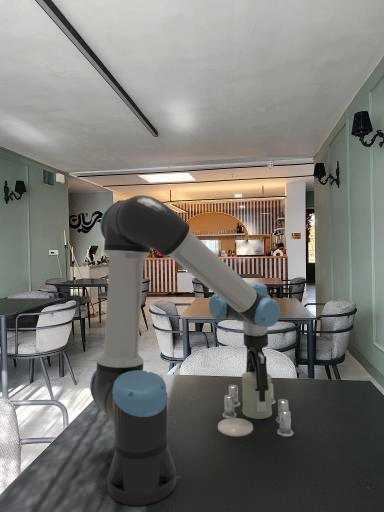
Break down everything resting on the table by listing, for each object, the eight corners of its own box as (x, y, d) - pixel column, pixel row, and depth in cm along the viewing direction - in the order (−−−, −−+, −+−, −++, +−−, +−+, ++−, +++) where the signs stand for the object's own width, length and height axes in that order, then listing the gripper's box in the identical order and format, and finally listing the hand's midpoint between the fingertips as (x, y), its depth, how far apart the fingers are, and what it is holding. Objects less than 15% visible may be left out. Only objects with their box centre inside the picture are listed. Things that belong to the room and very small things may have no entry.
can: (270, 406, 123) (269, 369, 122) (273, 419, 113) (273, 379, 113) (241, 405, 123) (241, 369, 123) (242, 418, 114) (242, 379, 114)
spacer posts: (302, 435, 103) (302, 413, 103) (233, 441, 101) (232, 418, 101) (273, 398, 128) (272, 381, 128) (216, 402, 126) (216, 384, 126)
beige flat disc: (257, 435, 104) (257, 432, 104) (221, 437, 103) (221, 435, 103) (247, 418, 114) (247, 416, 114) (215, 421, 113) (215, 419, 113)
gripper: (279, 340, 107) (280, 419, 108) (257, 325, 129) (258, 390, 130) (253, 342, 107) (254, 421, 107) (236, 326, 128) (237, 392, 129)
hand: (257, 404), depth 118 cm, fingers open, 9 cm apart
